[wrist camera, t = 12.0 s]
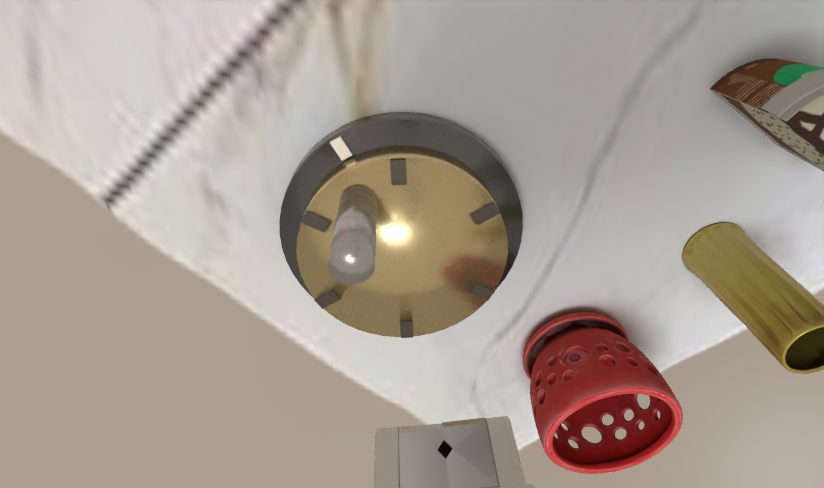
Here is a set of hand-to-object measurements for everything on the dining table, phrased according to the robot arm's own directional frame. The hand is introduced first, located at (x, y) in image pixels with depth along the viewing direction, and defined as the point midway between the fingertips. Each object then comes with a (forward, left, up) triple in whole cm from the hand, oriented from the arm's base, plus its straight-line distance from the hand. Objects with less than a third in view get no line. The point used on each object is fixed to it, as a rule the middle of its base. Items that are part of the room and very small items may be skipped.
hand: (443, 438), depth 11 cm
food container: (-25, +18, -33) cm, 45 cm away
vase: (-16, +31, -33) cm, 48 cm away
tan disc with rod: (+8, +11, -31) cm, 34 cm away
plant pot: (+1, +35, -33) cm, 48 cm away
